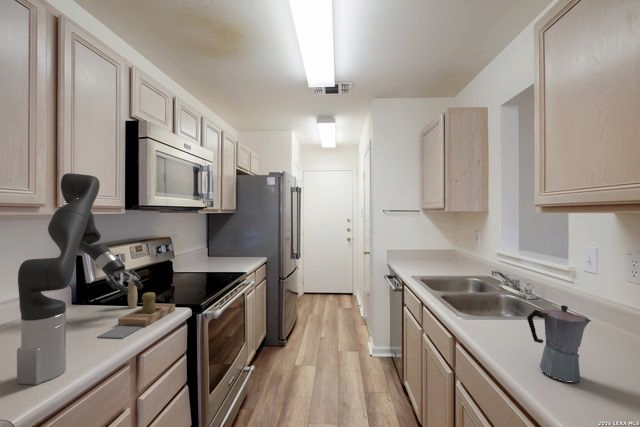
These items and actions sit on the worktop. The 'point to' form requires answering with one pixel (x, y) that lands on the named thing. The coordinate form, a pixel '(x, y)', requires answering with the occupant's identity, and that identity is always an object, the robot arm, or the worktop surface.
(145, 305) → the cork
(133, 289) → the handle
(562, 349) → the moka pot
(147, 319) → the wooden compartment tray
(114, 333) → the rubber mat
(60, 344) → the robot arm
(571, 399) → the worktop surface
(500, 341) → the worktop surface
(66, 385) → the worktop surface
